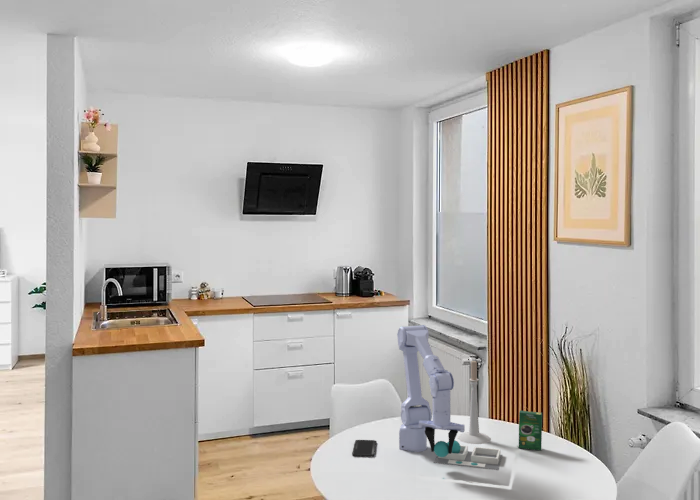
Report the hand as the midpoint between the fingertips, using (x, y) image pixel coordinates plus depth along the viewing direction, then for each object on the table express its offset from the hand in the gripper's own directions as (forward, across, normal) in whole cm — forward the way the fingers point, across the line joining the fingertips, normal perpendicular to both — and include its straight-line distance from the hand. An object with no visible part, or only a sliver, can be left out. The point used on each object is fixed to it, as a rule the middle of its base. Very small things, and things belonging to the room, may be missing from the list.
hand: (441, 451), depth 202 cm
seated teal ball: (+6, +2, +13) cm, 14 cm away
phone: (+7, -30, +12) cm, 33 cm away
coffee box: (+7, +26, +30) cm, 40 cm away
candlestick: (+7, +6, +32) cm, 33 cm away
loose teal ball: (+2, 0, 0) cm, 2 cm away
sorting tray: (+6, +7, +11) cm, 15 cm away
